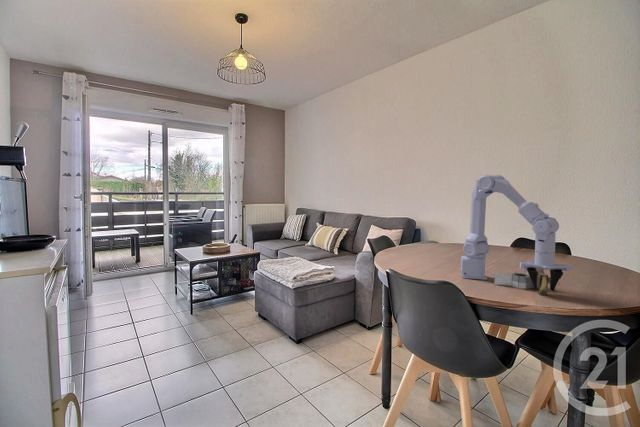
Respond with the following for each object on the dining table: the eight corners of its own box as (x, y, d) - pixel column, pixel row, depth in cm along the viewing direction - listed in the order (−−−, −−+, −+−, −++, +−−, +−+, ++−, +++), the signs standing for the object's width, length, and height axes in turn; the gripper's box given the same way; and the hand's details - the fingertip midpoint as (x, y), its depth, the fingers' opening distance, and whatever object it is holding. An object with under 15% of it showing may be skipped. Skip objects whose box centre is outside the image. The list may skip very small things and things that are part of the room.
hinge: (495, 286, 117) (496, 275, 116) (493, 282, 122) (493, 271, 122) (549, 291, 111) (550, 279, 110) (544, 286, 116) (545, 274, 116)
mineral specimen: (553, 282, 121) (554, 267, 121) (534, 281, 122) (534, 266, 122) (535, 273, 134) (536, 259, 133) (518, 273, 135) (518, 259, 134)
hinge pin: (540, 294, 107) (540, 275, 107) (538, 292, 109) (538, 273, 109) (548, 295, 106) (549, 275, 106) (546, 293, 109) (546, 274, 108)
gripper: (523, 252, 106) (522, 290, 107) (574, 255, 100) (573, 294, 101) (518, 249, 112) (517, 284, 113) (566, 251, 107) (564, 288, 108)
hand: (543, 289), depth 108 cm, fingers open, 5 cm apart
